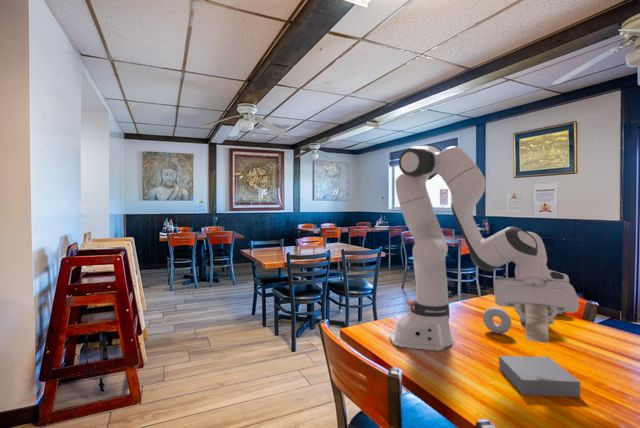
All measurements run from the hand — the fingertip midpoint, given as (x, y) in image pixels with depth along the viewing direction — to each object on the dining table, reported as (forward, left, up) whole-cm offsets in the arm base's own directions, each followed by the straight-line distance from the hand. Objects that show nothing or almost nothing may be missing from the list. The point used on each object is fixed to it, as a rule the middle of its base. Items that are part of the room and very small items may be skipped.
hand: (536, 321), depth 91 cm
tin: (+35, +61, -17) cm, 72 cm away
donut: (+4, +37, -17) cm, 41 cm away
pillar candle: (+22, +46, -17) cm, 54 cm away
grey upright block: (0, 0, -5) cm, 5 cm away
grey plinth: (0, +1, -17) cm, 17 cm away
